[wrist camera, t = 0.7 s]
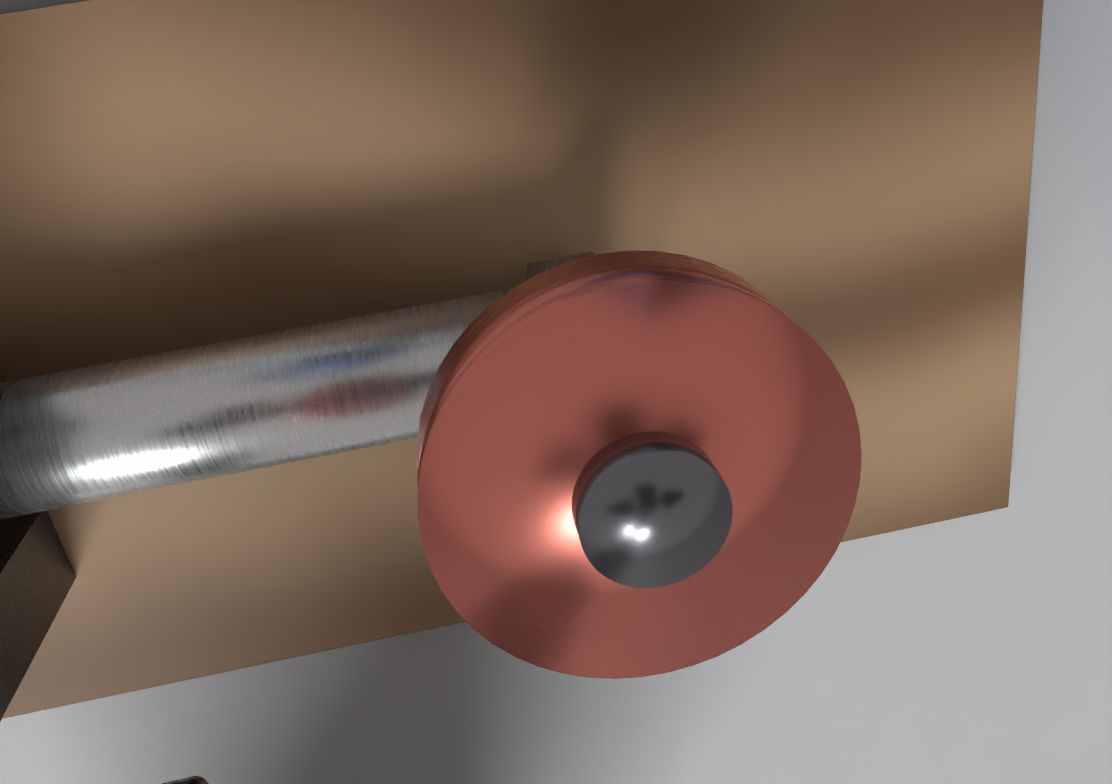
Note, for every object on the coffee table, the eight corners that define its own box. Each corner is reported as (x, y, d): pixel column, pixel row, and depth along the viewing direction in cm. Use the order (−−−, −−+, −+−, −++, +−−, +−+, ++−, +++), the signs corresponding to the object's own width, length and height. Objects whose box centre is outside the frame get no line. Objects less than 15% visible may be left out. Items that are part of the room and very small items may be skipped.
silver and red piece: (715, 415, 21) (880, 656, 14) (-187, 595, 20) (-533, 967, 12) (692, 139, 18) (883, 255, 11) (-347, 322, 17) (-900, 590, 10)
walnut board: (994, 494, 24) (1007, 506, 23) (-180, 739, 22) (-196, 760, 21) (1034, -150, 18) (1053, -153, 17) (-582, 106, 16) (-618, 111, 15)
